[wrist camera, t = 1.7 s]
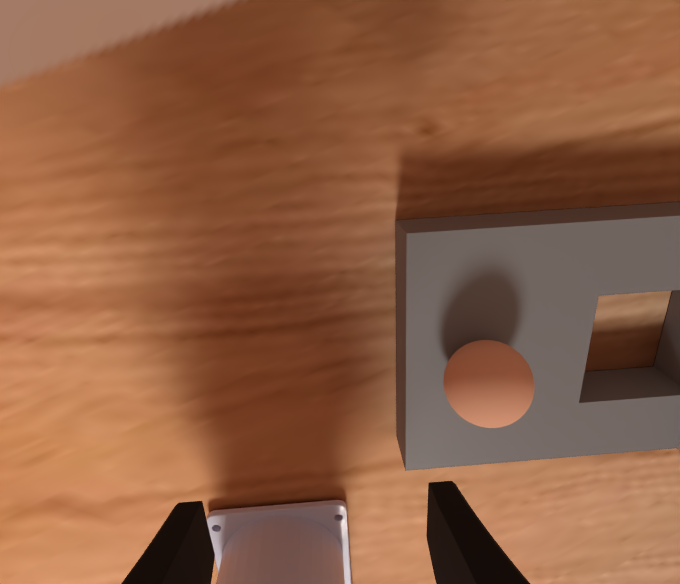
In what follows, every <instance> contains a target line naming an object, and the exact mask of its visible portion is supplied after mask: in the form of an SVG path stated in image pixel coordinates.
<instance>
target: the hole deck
mask: <svg viewBox="0 0 680 584" xmlns="http://www.w3.org/2000/svg"><path fill="white" fill-rule="evenodd" d="M395 230H396V422H397V440H398V444H399V448H400V451H401V455H402V459H403V463H404V467H405V471H407V470H419V469H431V468H443V467H455V466H467V465H479V464H491V463H503V462H515V461H528V460H540V459H552V458H564V457H576V456H588V455H600V454H612V453H624V452H636V451H648V450H660V449H672V448H677V449H678V450H679V451H680V202H668V203H652V204H637V205H621V206H606V207H590V208H575V209H559V210H544V211H528V212H513V213H497V214H482V215H466V216H451V217H435V218H420V219H404V220H395ZM671 290H673V291H672V295H671V299H670V302H669V306H668V310H667V314H666V318H665V322H664V326H663V330H662V334H661V338H660V342H659V346H658V350H657V354H656V358H655V362H654V366H653V367H640V368H627V369H614V370H601V371H588V372H585V367H586V361H587V356H588V351H589V345H590V340H591V334H592V329H593V323H594V318H595V313H596V307H597V302H598V296H600V295H614V294H628V293H643V292H657V291H671ZM478 340H493V341H498V342H501V343H504V344H507V345H508V346H510V347H512V348H514V349H515V350H516V351H517V352H519V353H520V354H521V355H522V356H523V357H524V359H525V360H526V362H527V363H528V365H529V367H530V369H531V371H532V374H533V378H534V384H535V388H534V396H533V400H532V403H531V405H530V407H529V408H528V410H527V411H526V413H525V414H524V415H523V416H522V417H521V418H520V419H518V420H517V421H515V422H514V423H512V424H510V425H507V426H504V427H499V428H485V427H480V426H477V425H474V424H472V423H470V422H468V421H466V420H465V419H463V418H462V417H461V416H459V415H458V414H457V413H456V412H455V410H454V409H453V408H452V407H451V405H450V403H449V401H448V400H447V397H446V394H445V391H444V384H443V379H444V371H445V368H446V365H447V363H448V361H449V359H450V358H451V356H452V355H453V354H454V353H455V352H456V351H457V350H458V349H460V348H461V347H463V346H464V345H466V344H468V343H471V342H474V341H478Z"/></svg>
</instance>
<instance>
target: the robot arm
mask: <svg viewBox="0 0 680 584" xmlns="http://www.w3.org/2000/svg"><path fill="white" fill-rule="evenodd" d="M338 514H340V515H338ZM218 525H219V526H218ZM427 541H428V546H429V551H430V556H431V561H432V565H433V570H434V575H435V579H436V583H437V584H530V583H529V582H528V581H527V580H526V578H525V577H524V576H523V575H522V574H521V572H520V571H519V570H518V569H517V568H516V566H515V565H514V564H513V563H512V561H511V560H510V559H509V558H508V556H507V555H506V554H505V553H504V551H503V550H502V549H501V548H500V546H499V545H498V544H497V542H496V541H495V540H494V539H493V537H492V536H491V535H490V533H489V532H488V531H487V529H486V528H485V527H484V525H483V524H482V522H481V521H480V520H479V518H478V517H477V516H476V514H475V513H474V511H473V510H472V508H471V507H470V506H469V504H468V503H467V501H466V500H465V498H464V497H463V495H462V494H461V492H460V491H459V489H458V487H457V486H456V484H455V483H453V482H452V481H445V482H432V483H429V488H428V514H427ZM214 558H215V561H216V566H217V570H218V577H217V582H216V584H351V570H350V554H349V538H348V523H347V508H346V503H345V502H344V501H342V500H329V501H317V502H306V503H294V504H282V505H270V506H258V507H246V508H235V509H223V510H214V511H211V512H209V514H208V516H207V519H206V516H205V512H204V508H203V503H202V501H196V502H183V503H178V504H177V505H176V506H175V507H174V509H173V510H172V512H171V513H170V515H169V516H168V518H167V519H166V521H165V522H164V524H163V525H162V527H161V528H160V530H159V531H158V533H157V534H156V536H155V537H154V539H153V540H152V542H151V543H150V544H149V546H148V547H147V549H146V550H145V552H144V553H143V555H142V556H141V557H140V559H139V560H138V562H137V563H136V564H135V566H134V567H133V569H132V570H131V571H130V573H129V574H128V575H127V577H126V578H125V580H124V581H123V582H122V584H211V578H212V572H213V565H214Z"/></svg>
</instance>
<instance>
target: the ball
mask: <svg viewBox="0 0 680 584" xmlns="http://www.w3.org/2000/svg"><path fill="white" fill-rule="evenodd" d="M443 384H444V391H445V394H446V397H447V400H448V401H449V403H450V405H451V407H452V408H453V409H454V410H455V412H456V413H457V414H458V415H459V416H461V417H462V418H463V419H465V420H466V421H468V422H470V423H472V424H474V425H477V426H480V427H485V428H499V427H504V426H507V425H510V424H512V423H514V422H515V421H517V420H518V419H520V418H521V417H522V416H523V415H524V414H525V413H526V411H527V410H528V408H529V407H530V405H531V403H532V400H533V396H534V388H535V384H534V378H533V374H532V371H531V369H530V367H529V365H528V363H527V362H526V360H525V359H524V357H523V356H522V355H521V354H520V353H519V352H517V351H516V350H515V349H514V348H512V347H510V346H508V345H507V344H504V343H501V342H498V341H493V340H478V341H474V342H471V343H468V344H466V345H464V346H463V347H461V348H460V349H458V350H457V351H456V352H455V353H454V354H453V355H452V356H451V358H450V359H449V361H448V363H447V365H446V368H445V371H444V379H443Z"/></svg>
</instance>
